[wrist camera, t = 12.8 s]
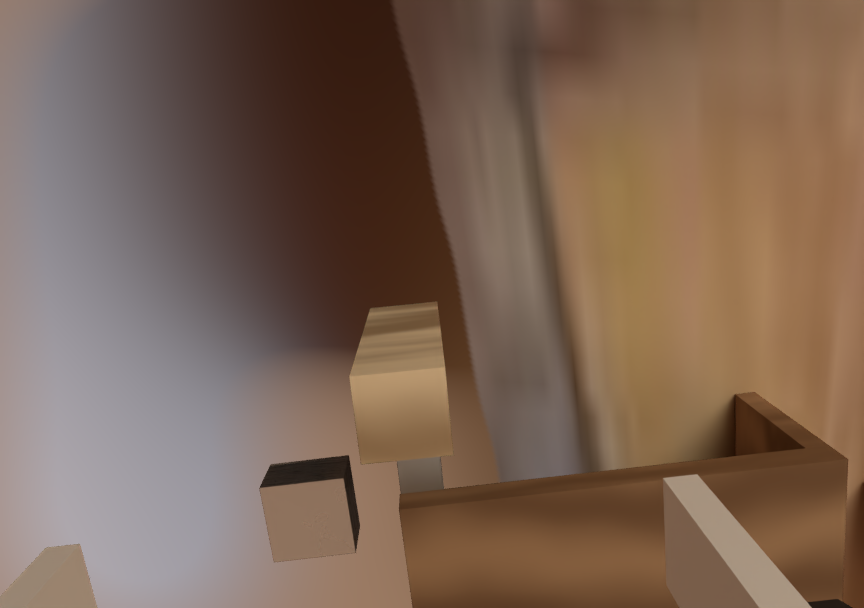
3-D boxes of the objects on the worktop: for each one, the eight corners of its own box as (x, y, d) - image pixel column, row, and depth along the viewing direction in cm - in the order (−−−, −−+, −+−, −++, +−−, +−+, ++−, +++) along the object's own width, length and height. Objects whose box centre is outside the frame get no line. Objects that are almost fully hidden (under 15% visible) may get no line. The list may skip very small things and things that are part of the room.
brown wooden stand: (403, 432, 40) (399, 509, 32) (754, 392, 40) (848, 459, 31) (429, 622, 44) (431, 741, 35) (754, 586, 43) (838, 696, 35)
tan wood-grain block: (370, 308, 38) (349, 376, 27) (437, 301, 38) (445, 367, 27) (401, 558, 42) (394, 713, 31) (461, 552, 42) (478, 705, 31)
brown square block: (270, 464, 41) (259, 488, 38) (349, 455, 41) (343, 478, 38) (283, 533, 42) (273, 562, 39) (360, 524, 42) (355, 552, 39)
